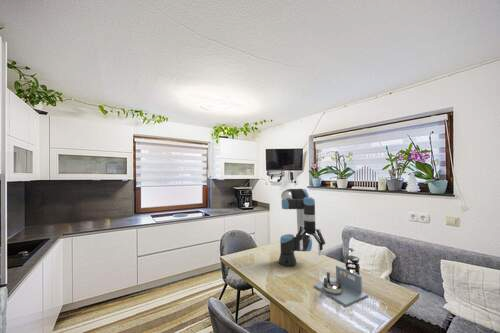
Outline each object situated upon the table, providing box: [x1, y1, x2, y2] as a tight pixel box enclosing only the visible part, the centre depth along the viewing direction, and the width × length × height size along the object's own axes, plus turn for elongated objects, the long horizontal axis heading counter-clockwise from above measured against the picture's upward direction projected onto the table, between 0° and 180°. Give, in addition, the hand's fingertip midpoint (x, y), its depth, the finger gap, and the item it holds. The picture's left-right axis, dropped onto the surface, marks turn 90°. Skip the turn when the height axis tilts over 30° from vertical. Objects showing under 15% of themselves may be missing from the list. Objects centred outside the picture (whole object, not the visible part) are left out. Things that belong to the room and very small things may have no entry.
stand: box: [313, 264, 369, 307], centre depth 128 cm, size 24×20×11 cm
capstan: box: [323, 271, 343, 295], centre depth 128 cm, size 12×12×8 cm
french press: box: [344, 248, 361, 276], centre depth 139 cm, size 12×9×23 cm
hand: (310, 252), depth 134 cm, fingers open, 13 cm apart
